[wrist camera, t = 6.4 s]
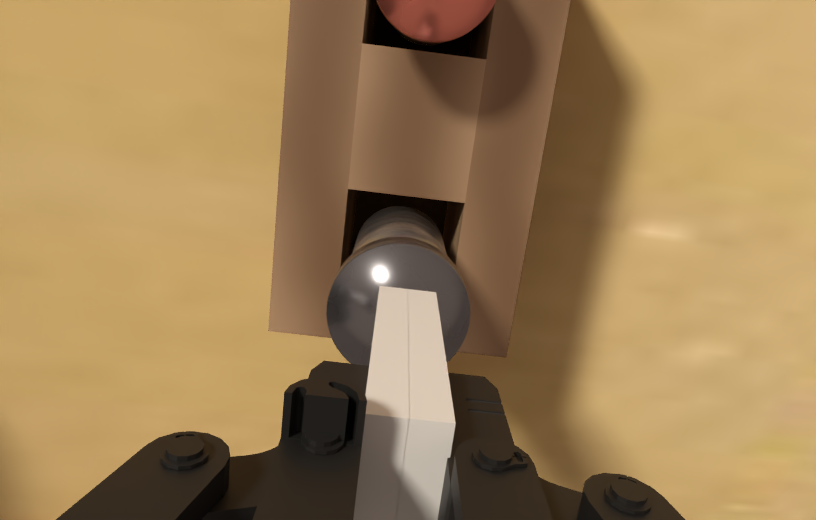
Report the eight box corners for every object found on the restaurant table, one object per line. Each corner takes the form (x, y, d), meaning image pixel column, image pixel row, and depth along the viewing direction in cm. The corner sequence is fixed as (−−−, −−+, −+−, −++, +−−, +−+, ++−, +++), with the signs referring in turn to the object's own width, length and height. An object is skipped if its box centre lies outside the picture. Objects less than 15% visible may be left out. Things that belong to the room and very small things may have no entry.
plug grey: (343, 291, 26) (320, 372, 19) (353, 192, 25) (332, 236, 17) (443, 303, 26) (459, 387, 19) (457, 205, 25) (480, 254, 18)
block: (296, 280, 32) (268, 331, 26) (326, -103, 28) (301, -164, 21) (484, 301, 33) (506, 357, 26) (547, -72, 28) (592, -122, 21)
